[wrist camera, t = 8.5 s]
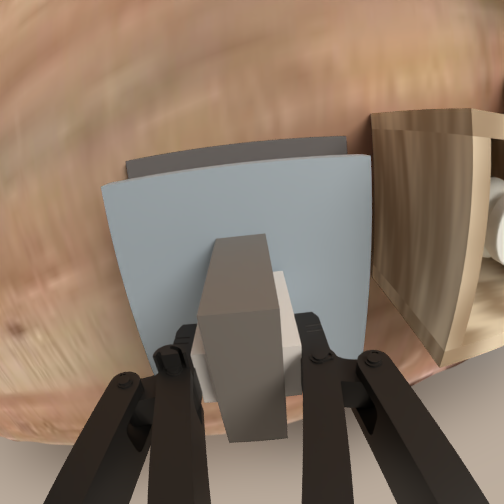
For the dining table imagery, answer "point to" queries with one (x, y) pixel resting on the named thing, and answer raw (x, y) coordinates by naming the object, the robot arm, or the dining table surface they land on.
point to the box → (439, 226)
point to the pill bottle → (495, 222)
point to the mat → (236, 154)
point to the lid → (246, 268)
